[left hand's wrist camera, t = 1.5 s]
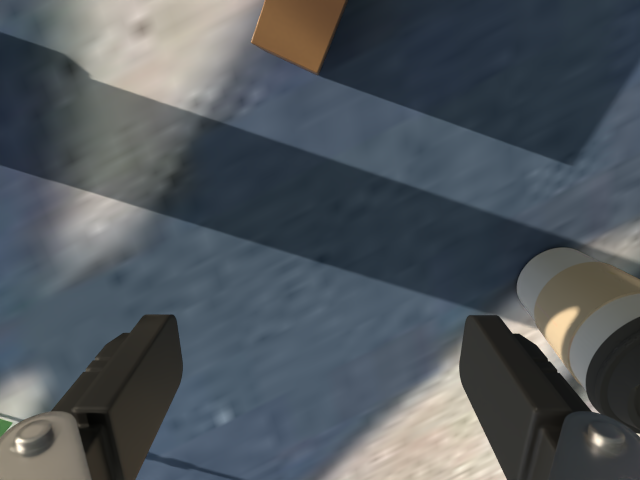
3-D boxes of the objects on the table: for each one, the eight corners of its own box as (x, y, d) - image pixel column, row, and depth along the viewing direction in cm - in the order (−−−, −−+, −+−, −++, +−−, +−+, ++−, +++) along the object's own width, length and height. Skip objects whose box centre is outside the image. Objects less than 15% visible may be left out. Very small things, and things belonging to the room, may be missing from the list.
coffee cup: (625, 275, 37) (808, 389, 23) (547, 340, 40) (670, 478, 26) (561, 215, 35) (718, 301, 21) (484, 288, 38) (579, 407, 24)
